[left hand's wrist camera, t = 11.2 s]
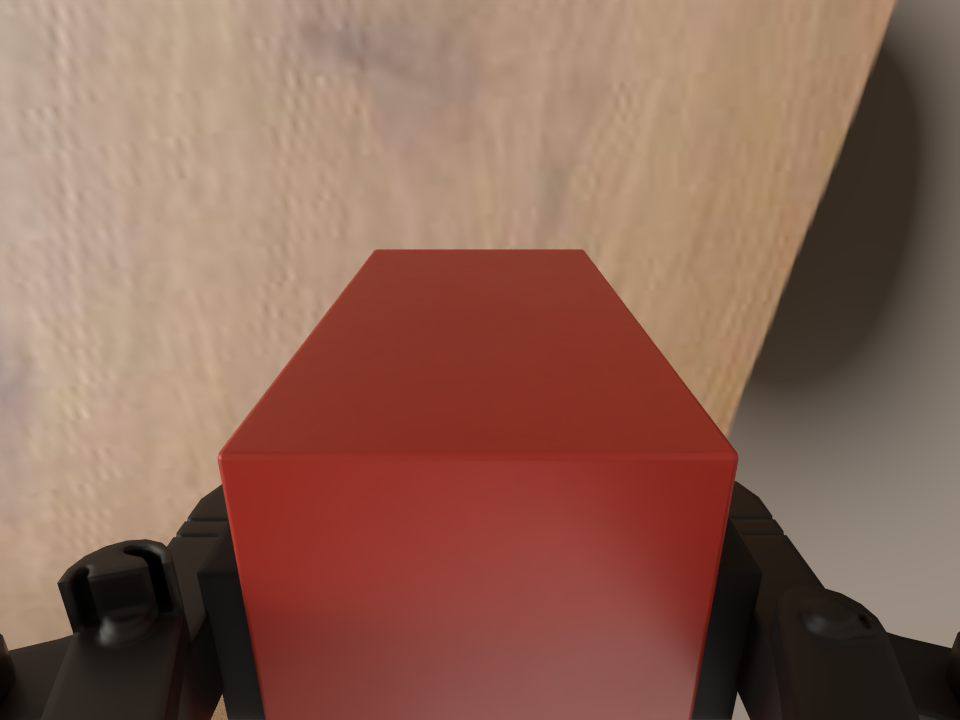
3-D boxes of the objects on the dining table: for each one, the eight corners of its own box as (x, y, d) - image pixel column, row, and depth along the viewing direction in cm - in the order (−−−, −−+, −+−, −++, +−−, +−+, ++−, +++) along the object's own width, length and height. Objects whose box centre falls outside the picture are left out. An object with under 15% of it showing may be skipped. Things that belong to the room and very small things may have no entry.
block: (571, 449, 20) (674, 828, 9) (387, 449, 20) (282, 827, 9) (584, 249, 17) (742, 454, 7) (373, 248, 17) (213, 454, 7)
